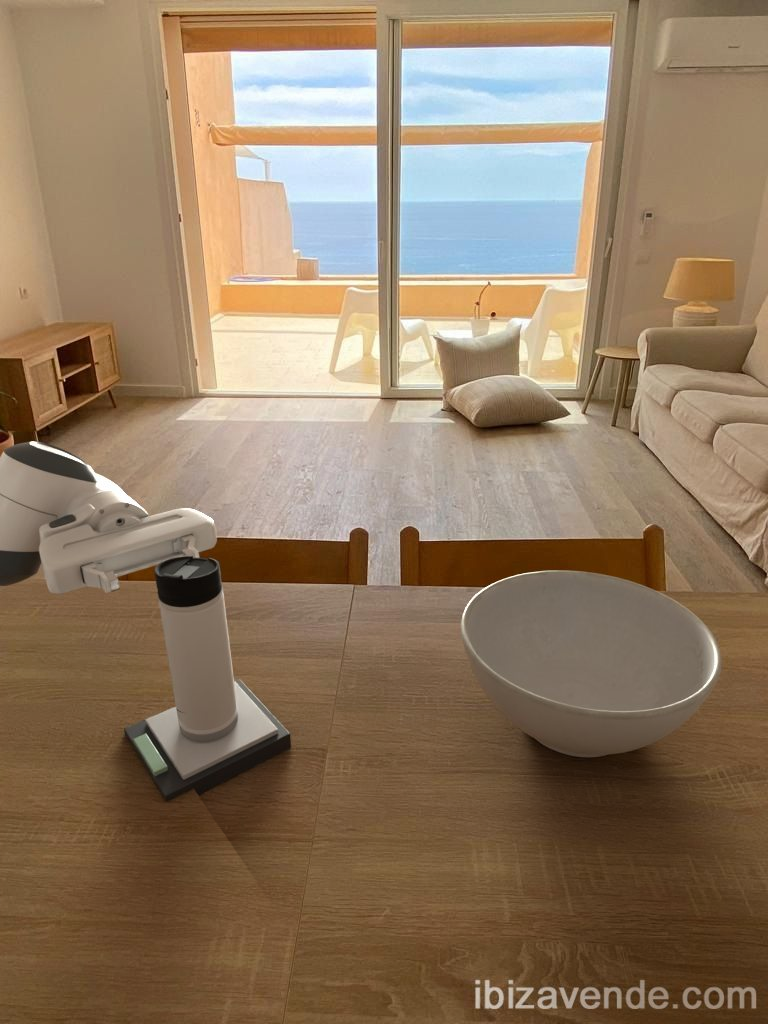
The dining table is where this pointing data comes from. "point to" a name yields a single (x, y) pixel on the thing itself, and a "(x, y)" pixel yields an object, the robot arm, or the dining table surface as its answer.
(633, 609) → the decorative bowl
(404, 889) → the dining table surface
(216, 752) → the kitchen scale
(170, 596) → the travel mug
